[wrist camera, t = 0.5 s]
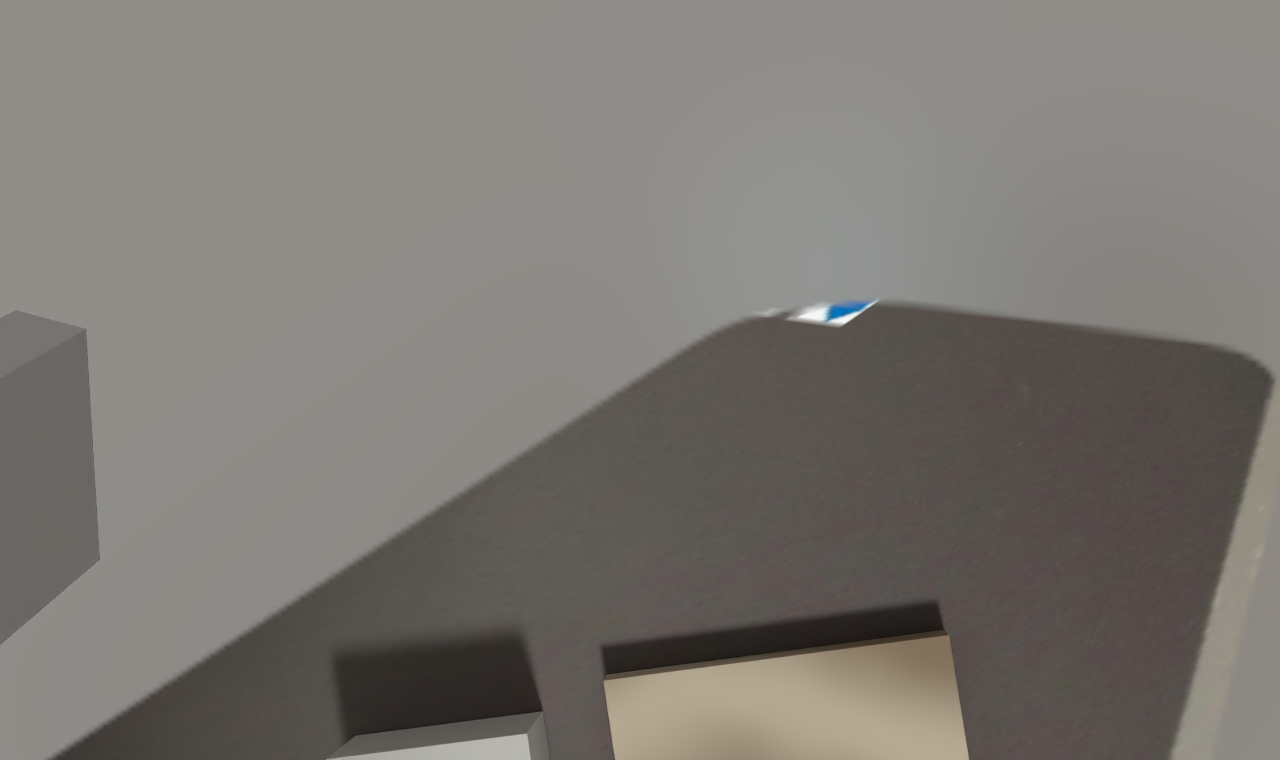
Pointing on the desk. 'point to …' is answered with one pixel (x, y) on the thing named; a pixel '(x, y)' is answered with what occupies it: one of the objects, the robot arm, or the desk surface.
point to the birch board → (796, 705)
